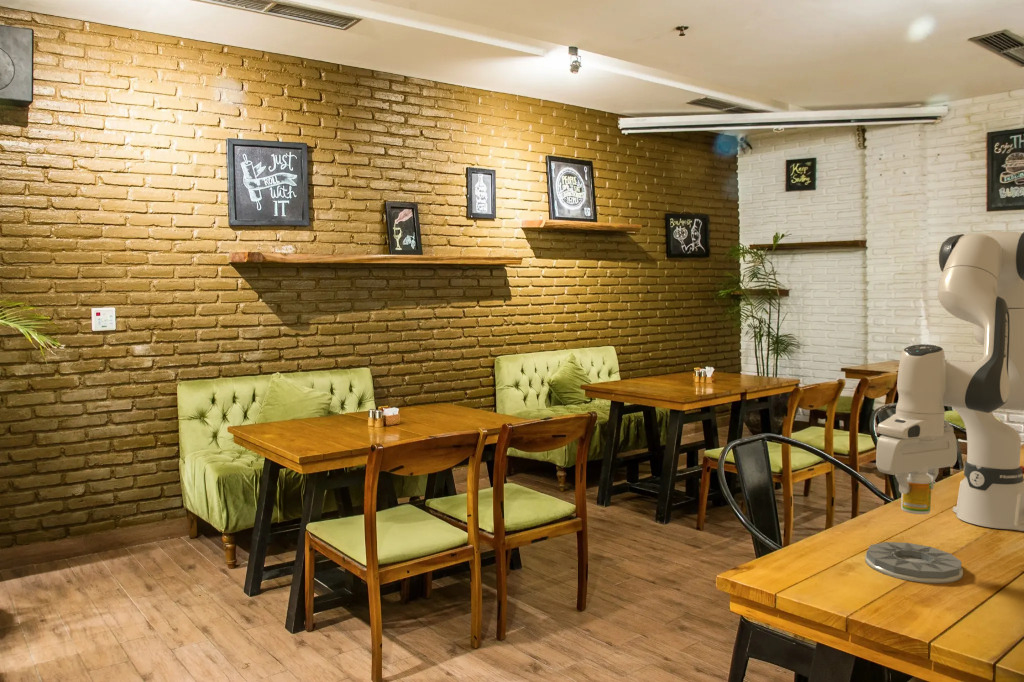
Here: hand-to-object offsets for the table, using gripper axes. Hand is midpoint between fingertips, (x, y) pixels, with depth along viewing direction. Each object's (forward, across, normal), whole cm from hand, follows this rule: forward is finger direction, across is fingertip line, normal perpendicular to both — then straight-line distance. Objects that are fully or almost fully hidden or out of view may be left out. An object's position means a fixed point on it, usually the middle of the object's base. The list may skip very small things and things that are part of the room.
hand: (916, 491), depth 160 cm
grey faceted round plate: (+16, 0, 0) cm, 16 cm away
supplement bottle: (+4, 0, 0) cm, 4 cm away
